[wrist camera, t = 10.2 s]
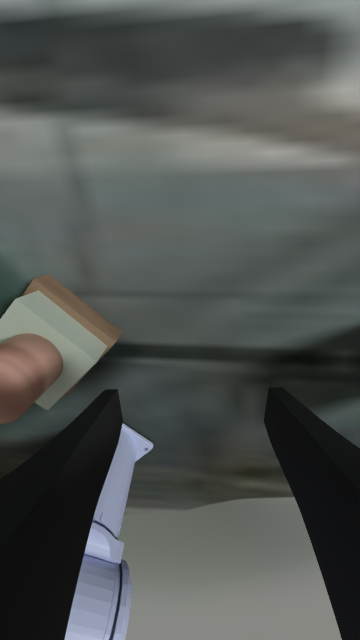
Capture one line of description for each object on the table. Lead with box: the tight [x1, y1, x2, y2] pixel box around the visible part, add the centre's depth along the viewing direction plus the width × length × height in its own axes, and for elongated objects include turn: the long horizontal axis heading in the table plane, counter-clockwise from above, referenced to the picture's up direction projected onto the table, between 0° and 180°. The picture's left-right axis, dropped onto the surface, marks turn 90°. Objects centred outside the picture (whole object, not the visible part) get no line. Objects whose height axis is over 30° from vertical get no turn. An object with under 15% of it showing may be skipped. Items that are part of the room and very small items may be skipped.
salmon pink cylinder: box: [0, 333, 63, 424], centre depth 15 cm, size 4×4×4 cm
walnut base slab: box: [22, 274, 122, 395], centre depth 20 cm, size 8×8×2 cm
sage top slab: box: [0, 290, 108, 411], centre depth 18 cm, size 7×7×2 cm
